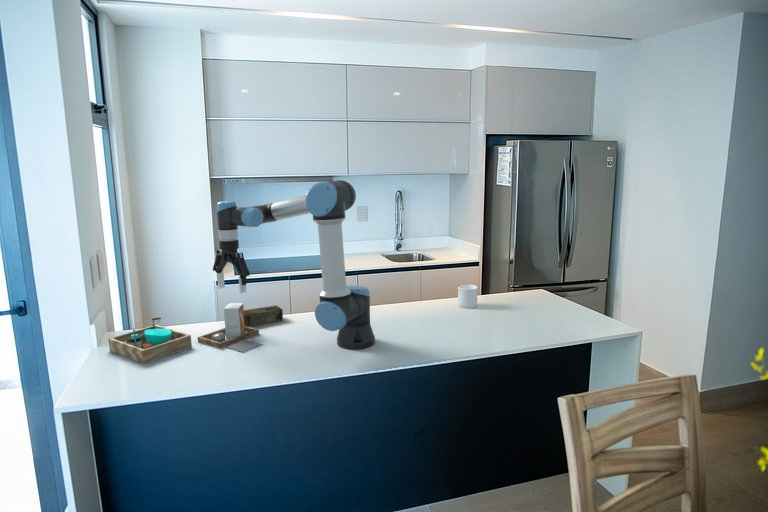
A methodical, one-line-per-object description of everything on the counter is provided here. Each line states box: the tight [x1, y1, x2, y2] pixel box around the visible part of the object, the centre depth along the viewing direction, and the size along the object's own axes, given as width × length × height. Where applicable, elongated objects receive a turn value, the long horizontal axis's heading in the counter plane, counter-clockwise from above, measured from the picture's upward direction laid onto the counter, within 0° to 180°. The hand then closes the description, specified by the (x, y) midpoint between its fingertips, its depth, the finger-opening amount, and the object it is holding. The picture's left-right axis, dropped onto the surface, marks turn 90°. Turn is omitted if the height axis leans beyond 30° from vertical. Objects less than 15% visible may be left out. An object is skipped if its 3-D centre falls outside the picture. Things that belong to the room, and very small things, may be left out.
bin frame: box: [197, 326, 260, 350], centre depth 217 cm, size 14×20×2 cm
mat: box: [225, 338, 263, 354], centre depth 207 cm, size 10×10×1 cm
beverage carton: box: [244, 304, 284, 328], centre depth 236 cm, size 8×19×7 cm, turn 123°
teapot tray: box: [108, 324, 193, 365], centre depth 205 cm, size 24×20×5 cm
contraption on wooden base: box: [125, 317, 172, 349], centre depth 204 cm, size 14×18×15 cm
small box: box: [223, 302, 246, 340], centre depth 219 cm, size 8×6×13 cm
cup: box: [457, 283, 479, 309], centre depth 256 cm, size 10×10×10 cm
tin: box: [211, 333, 227, 342], centre depth 213 cm, size 5×5×3 cm
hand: (232, 290), depth 216 cm, fingers open, 13 cm apart
